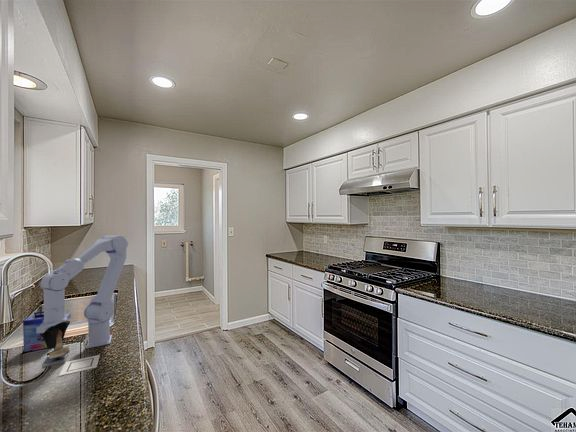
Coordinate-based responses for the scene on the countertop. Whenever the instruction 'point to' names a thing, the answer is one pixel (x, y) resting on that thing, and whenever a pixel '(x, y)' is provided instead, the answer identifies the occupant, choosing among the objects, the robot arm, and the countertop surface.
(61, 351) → the stamp
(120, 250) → the robot arm
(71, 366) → the paper
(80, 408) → the countertop surface
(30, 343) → the ink cartridge box
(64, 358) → the ink pad
